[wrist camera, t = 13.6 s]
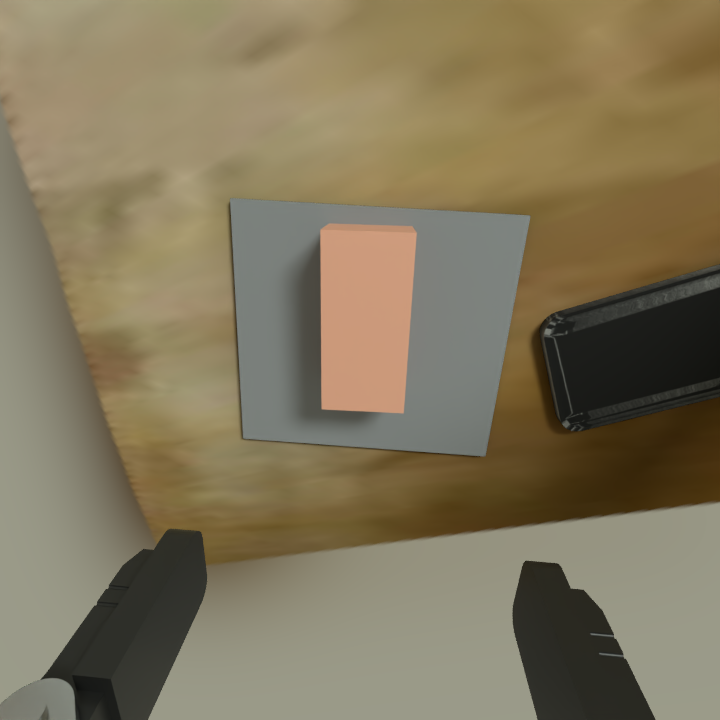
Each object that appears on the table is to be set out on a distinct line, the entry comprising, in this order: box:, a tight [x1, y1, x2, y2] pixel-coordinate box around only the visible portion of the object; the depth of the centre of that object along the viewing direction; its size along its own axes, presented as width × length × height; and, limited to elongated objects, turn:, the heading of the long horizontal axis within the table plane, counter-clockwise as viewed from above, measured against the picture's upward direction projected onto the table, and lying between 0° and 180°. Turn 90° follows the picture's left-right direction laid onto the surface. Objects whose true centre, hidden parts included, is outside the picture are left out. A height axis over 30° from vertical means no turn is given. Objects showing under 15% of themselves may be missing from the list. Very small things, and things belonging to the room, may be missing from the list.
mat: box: [230, 198, 530, 456], centre depth 26 cm, size 16×15×1 cm
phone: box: [540, 264, 720, 431], centre depth 26 cm, size 8×1×15 cm
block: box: [320, 223, 417, 413], centre depth 24 cm, size 4×4×10 cm
